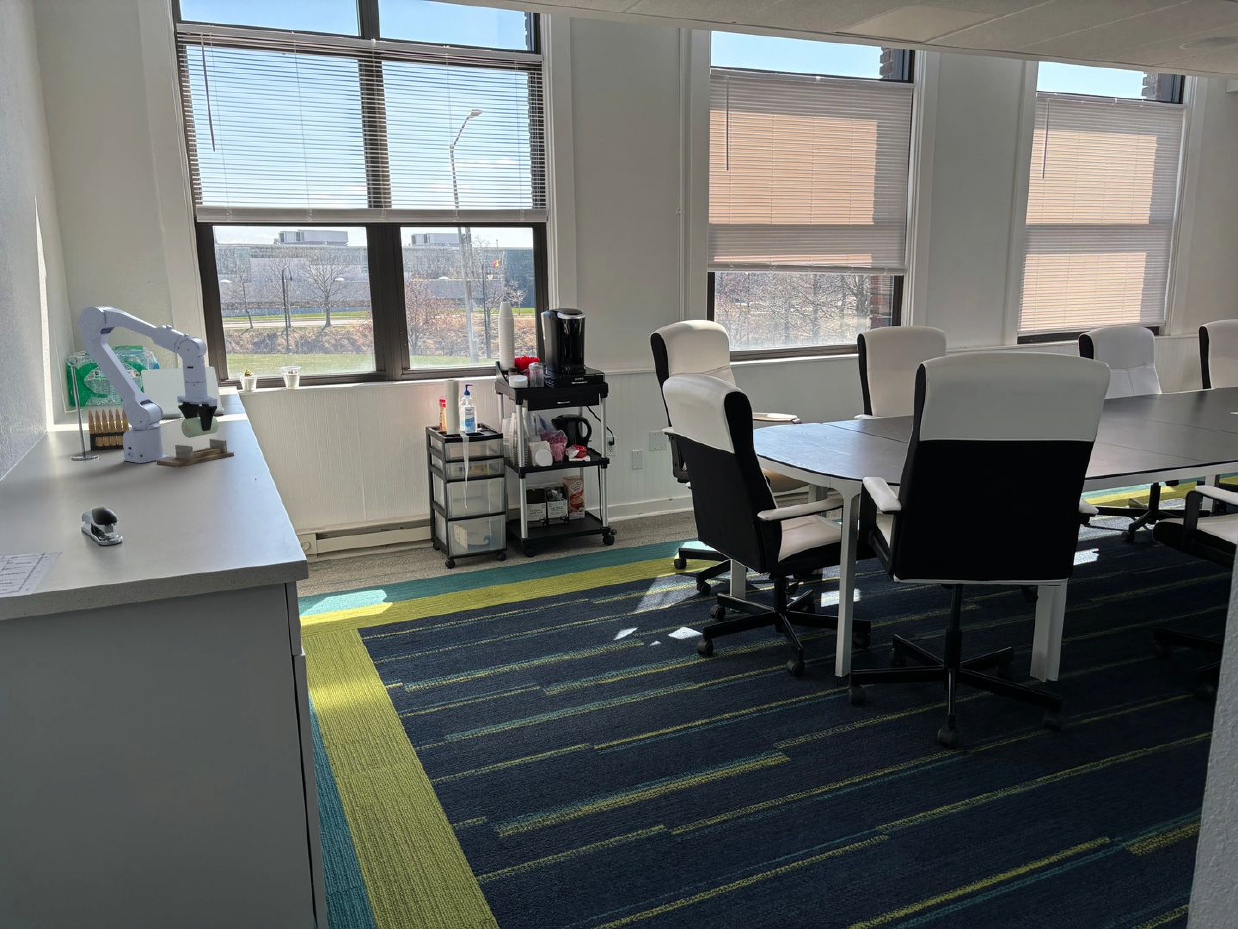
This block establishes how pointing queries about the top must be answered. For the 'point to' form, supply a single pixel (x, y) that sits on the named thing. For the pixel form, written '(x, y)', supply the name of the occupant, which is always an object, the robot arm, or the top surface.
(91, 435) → the ammunition clip
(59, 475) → the top surface
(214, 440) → the holder
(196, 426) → the roll
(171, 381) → the tablet stand
